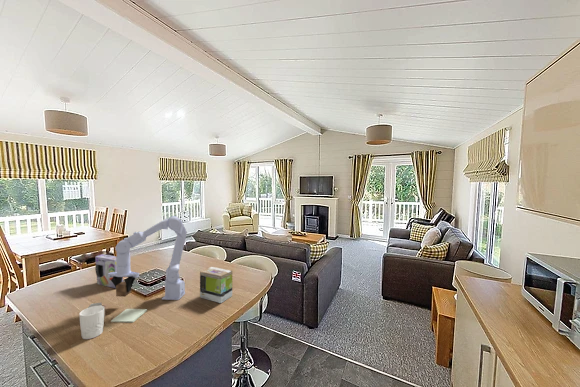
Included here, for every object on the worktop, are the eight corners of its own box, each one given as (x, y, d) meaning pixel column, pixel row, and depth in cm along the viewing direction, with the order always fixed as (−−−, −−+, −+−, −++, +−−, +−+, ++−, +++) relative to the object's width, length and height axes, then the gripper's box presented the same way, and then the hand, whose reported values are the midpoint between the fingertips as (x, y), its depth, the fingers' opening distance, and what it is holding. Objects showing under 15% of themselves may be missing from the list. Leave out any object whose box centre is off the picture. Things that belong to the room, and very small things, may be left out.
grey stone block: (101, 310, 114) (101, 302, 114) (98, 314, 110) (97, 306, 110) (91, 311, 113) (91, 303, 113) (87, 316, 109) (87, 307, 109)
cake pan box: (94, 283, 143) (94, 255, 142) (103, 280, 148) (103, 253, 147) (114, 289, 136) (114, 259, 135) (123, 286, 141) (123, 257, 140)
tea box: (232, 295, 131) (233, 270, 131) (220, 304, 122) (220, 276, 121) (212, 290, 138) (212, 265, 137) (199, 297, 128) (199, 271, 128)
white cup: (89, 328, 100) (89, 305, 100) (109, 327, 101) (108, 305, 100) (74, 340, 92) (73, 316, 92) (95, 340, 93) (95, 315, 92)
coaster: (147, 310, 115) (147, 309, 115) (133, 322, 105) (133, 321, 105) (126, 309, 115) (126, 308, 115) (111, 321, 105) (111, 320, 105)
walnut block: (131, 292, 120) (131, 281, 120) (125, 296, 116) (125, 285, 116) (122, 292, 120) (122, 281, 120) (116, 296, 116) (116, 285, 116)
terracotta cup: (107, 314, 110) (107, 305, 110) (100, 319, 106) (100, 310, 106) (99, 314, 111) (99, 305, 110) (91, 319, 107) (91, 309, 106)
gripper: (142, 262, 121) (143, 287, 122) (115, 261, 122) (115, 287, 122) (133, 266, 114) (134, 294, 115) (104, 266, 115) (105, 293, 115)
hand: (124, 291), depth 118 cm, fingers closed on walnut block, 4 cm apart
